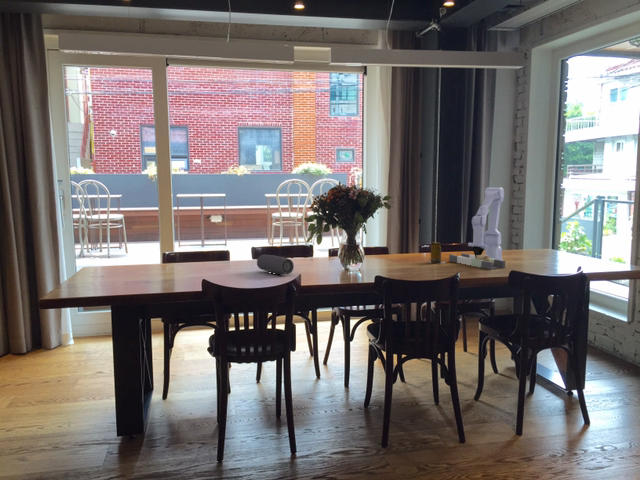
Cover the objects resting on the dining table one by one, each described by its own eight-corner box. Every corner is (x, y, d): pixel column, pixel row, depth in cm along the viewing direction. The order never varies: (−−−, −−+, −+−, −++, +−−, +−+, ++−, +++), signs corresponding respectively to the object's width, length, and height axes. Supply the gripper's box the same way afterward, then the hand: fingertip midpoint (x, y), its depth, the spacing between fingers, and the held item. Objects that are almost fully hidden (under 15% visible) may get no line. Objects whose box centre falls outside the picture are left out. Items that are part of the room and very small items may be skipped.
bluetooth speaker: (294, 275, 290) (294, 257, 289) (281, 277, 284) (280, 259, 283) (269, 270, 307) (269, 252, 306) (256, 272, 301) (255, 254, 300)
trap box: (463, 259, 333) (463, 253, 333) (505, 267, 303) (505, 260, 302) (449, 261, 328) (449, 254, 328) (490, 269, 298) (490, 262, 298)
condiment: (435, 261, 329) (435, 241, 328) (446, 262, 323) (446, 242, 321) (427, 262, 325) (427, 242, 323) (438, 264, 318) (438, 244, 317)
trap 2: (493, 266, 308) (493, 265, 308) (502, 268, 302) (502, 267, 302) (483, 267, 305) (483, 266, 305) (492, 269, 299) (492, 268, 299)
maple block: (482, 261, 314) (482, 254, 313) (489, 262, 309) (489, 255, 309) (476, 262, 311) (476, 255, 311) (482, 263, 307) (482, 256, 306)
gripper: (464, 235, 317) (464, 258, 318) (482, 238, 304) (481, 262, 306) (473, 235, 320) (473, 257, 322) (491, 237, 307) (491, 261, 309)
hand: (477, 259), depth 314 cm, fingers closed
